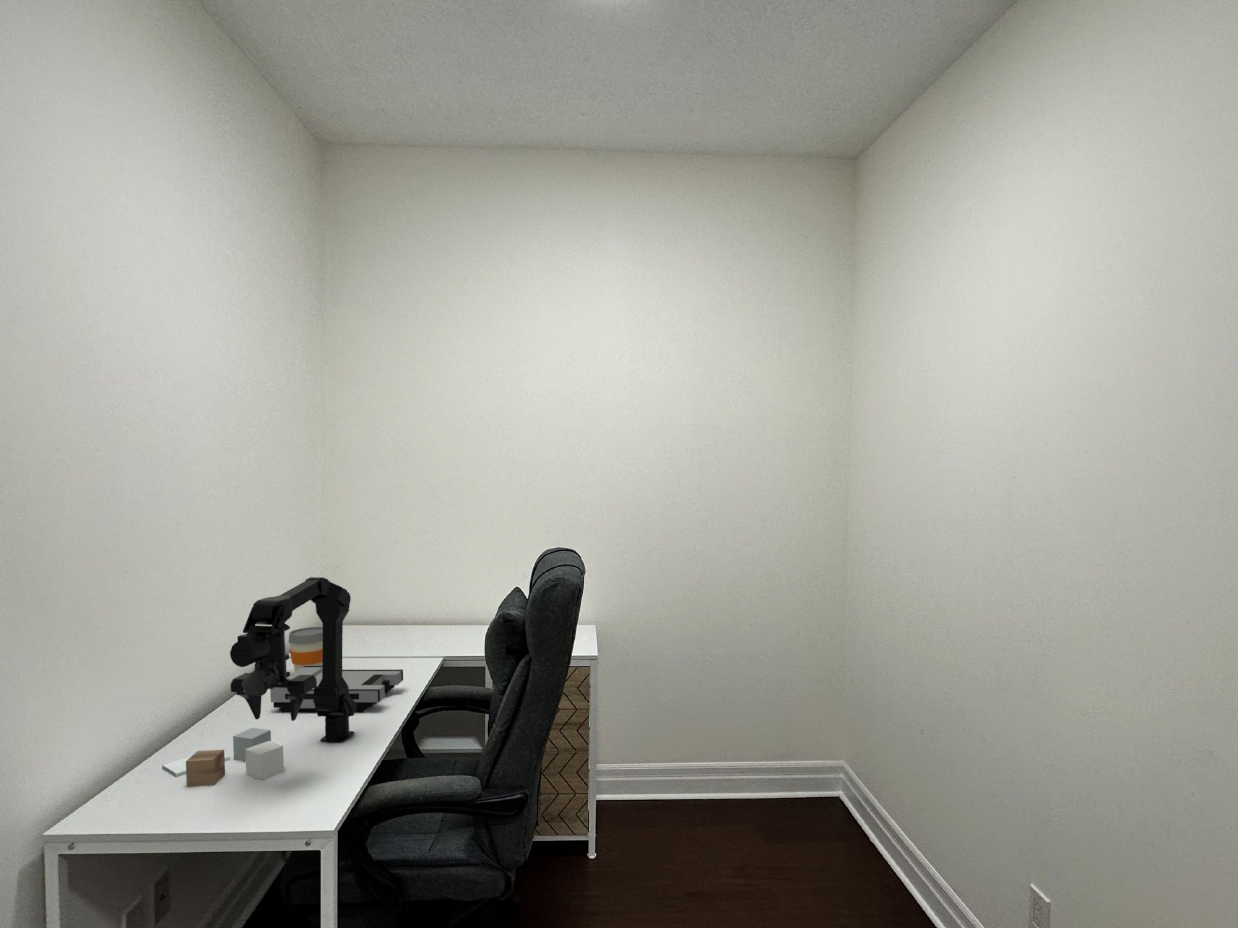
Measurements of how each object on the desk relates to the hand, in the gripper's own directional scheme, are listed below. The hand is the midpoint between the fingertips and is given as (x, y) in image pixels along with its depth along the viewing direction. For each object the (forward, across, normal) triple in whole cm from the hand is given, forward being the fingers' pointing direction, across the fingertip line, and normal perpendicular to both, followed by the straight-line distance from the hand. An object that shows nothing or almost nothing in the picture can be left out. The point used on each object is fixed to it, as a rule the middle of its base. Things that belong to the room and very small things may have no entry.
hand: (275, 719), depth 179 cm
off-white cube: (+14, -5, +2) cm, 15 cm away
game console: (+15, -14, +51) cm, 55 cm away
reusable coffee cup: (+16, -39, +76) cm, 86 cm away
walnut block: (+14, -16, -4) cm, 22 cm away
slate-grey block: (+14, -14, +10) cm, 22 cm away
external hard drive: (+15, -25, +4) cm, 29 cm away
